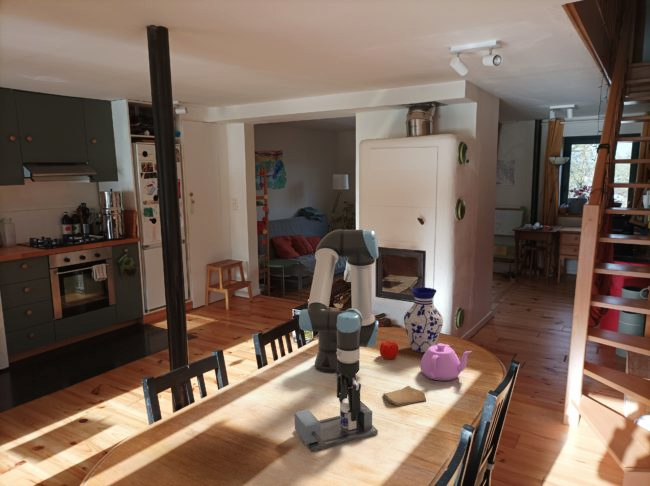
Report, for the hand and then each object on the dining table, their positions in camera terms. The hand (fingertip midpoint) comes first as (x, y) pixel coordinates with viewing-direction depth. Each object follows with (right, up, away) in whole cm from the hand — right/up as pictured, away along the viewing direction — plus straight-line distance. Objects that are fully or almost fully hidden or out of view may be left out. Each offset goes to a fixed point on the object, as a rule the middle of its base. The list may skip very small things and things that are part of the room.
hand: (348, 424), depth 160 cm
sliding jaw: (-12, -2, -10) cm, 15 cm away
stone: (+23, +1, +22) cm, 32 cm away
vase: (+40, +9, +73) cm, 84 cm away
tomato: (+22, +7, +63) cm, 67 cm away
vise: (-4, -2, -2) cm, 5 cm away
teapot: (+44, +4, +42) cm, 61 cm away
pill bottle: (0, -1, 0) cm, 0 cm away
